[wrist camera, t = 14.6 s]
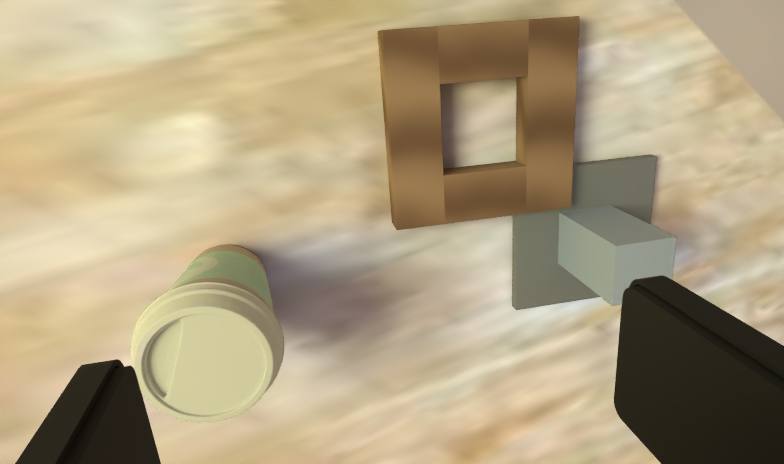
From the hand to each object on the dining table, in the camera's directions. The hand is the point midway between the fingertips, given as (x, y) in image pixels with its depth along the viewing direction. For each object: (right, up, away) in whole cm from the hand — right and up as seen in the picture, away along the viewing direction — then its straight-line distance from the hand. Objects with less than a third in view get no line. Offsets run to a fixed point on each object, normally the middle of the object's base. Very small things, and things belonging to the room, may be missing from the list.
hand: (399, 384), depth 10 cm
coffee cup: (-13, -1, +31) cm, 33 cm away
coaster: (+16, +3, +35) cm, 38 cm away
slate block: (+16, +3, +34) cm, 38 cm away
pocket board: (+6, +11, +30) cm, 33 cm away
